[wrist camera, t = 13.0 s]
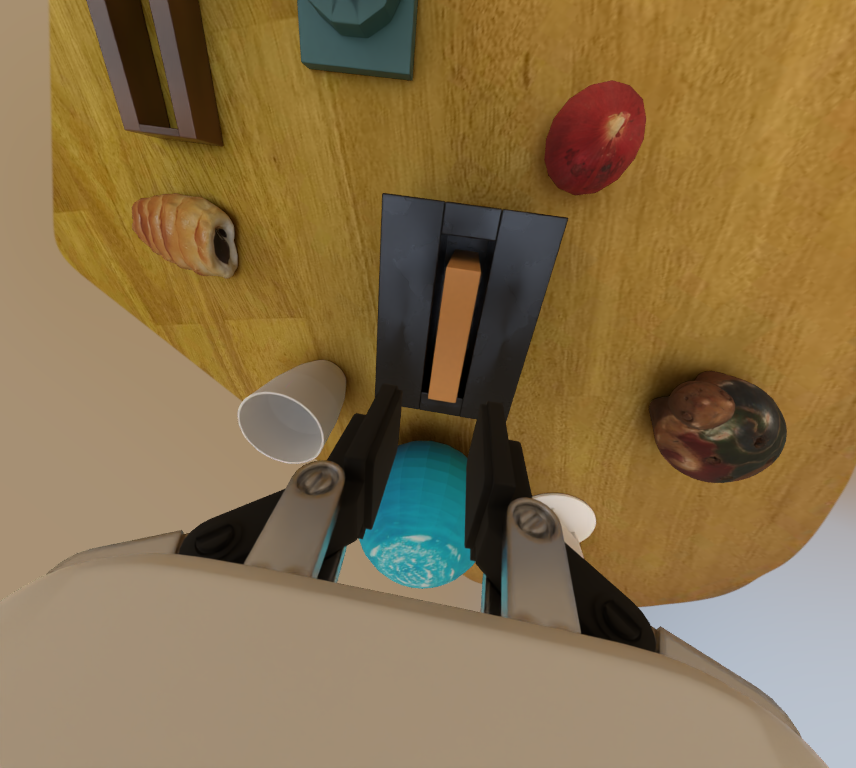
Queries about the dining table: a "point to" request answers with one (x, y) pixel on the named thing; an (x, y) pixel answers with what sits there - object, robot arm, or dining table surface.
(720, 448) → the brown mottled ceramic figure
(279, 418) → the cup
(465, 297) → the toast
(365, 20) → the block
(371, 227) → the dining table surface
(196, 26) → the brown rectangular frame
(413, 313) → the toaster
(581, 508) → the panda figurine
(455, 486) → the decorative orb
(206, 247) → the pastry
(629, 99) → the onion
